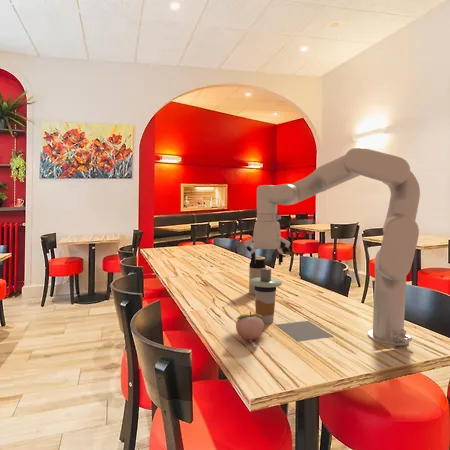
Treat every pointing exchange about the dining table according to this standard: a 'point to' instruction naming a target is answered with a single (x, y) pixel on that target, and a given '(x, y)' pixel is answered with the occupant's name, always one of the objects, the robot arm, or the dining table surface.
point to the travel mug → (255, 271)
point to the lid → (265, 279)
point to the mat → (304, 331)
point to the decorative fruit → (249, 326)
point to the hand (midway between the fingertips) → (266, 264)
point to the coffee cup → (265, 303)
